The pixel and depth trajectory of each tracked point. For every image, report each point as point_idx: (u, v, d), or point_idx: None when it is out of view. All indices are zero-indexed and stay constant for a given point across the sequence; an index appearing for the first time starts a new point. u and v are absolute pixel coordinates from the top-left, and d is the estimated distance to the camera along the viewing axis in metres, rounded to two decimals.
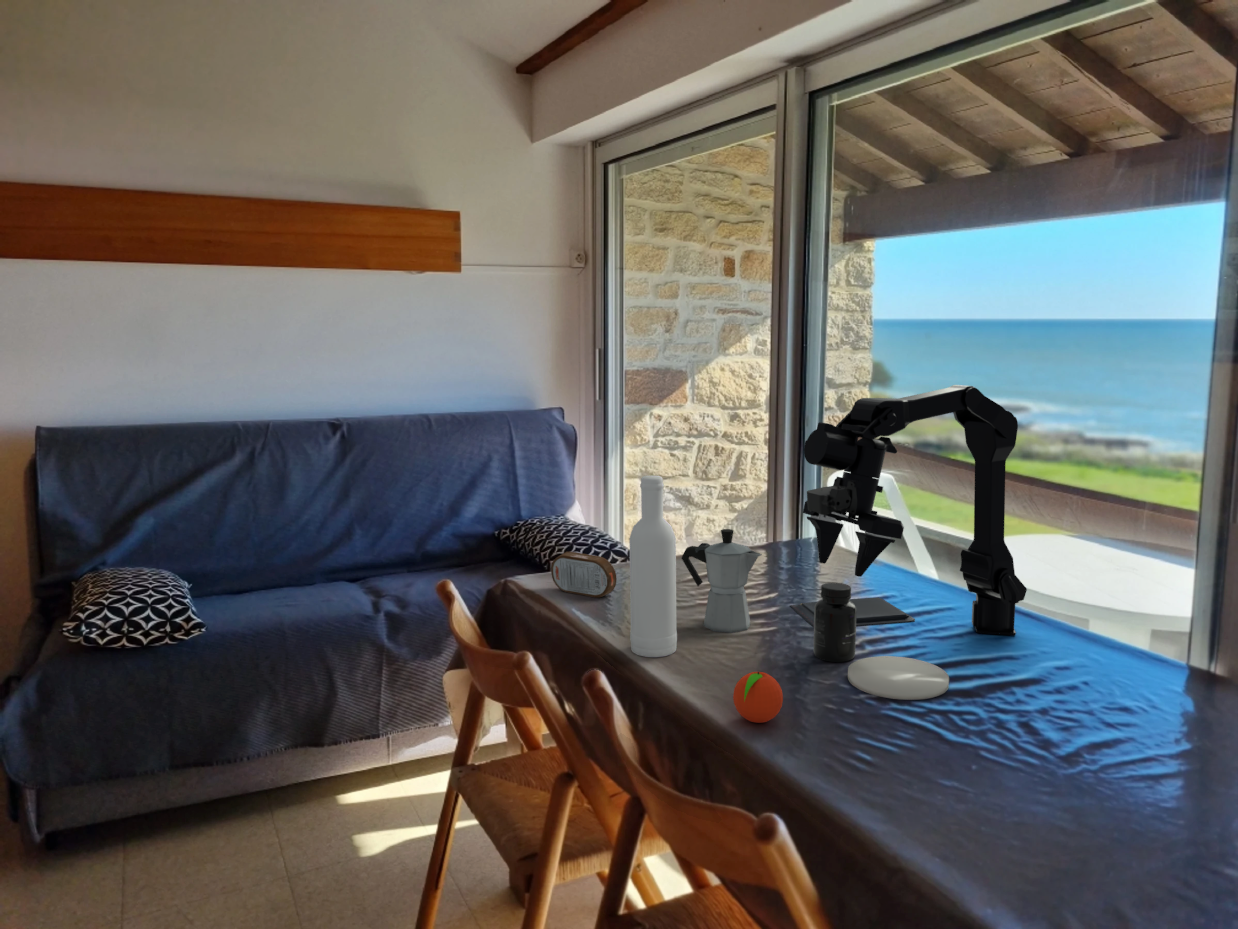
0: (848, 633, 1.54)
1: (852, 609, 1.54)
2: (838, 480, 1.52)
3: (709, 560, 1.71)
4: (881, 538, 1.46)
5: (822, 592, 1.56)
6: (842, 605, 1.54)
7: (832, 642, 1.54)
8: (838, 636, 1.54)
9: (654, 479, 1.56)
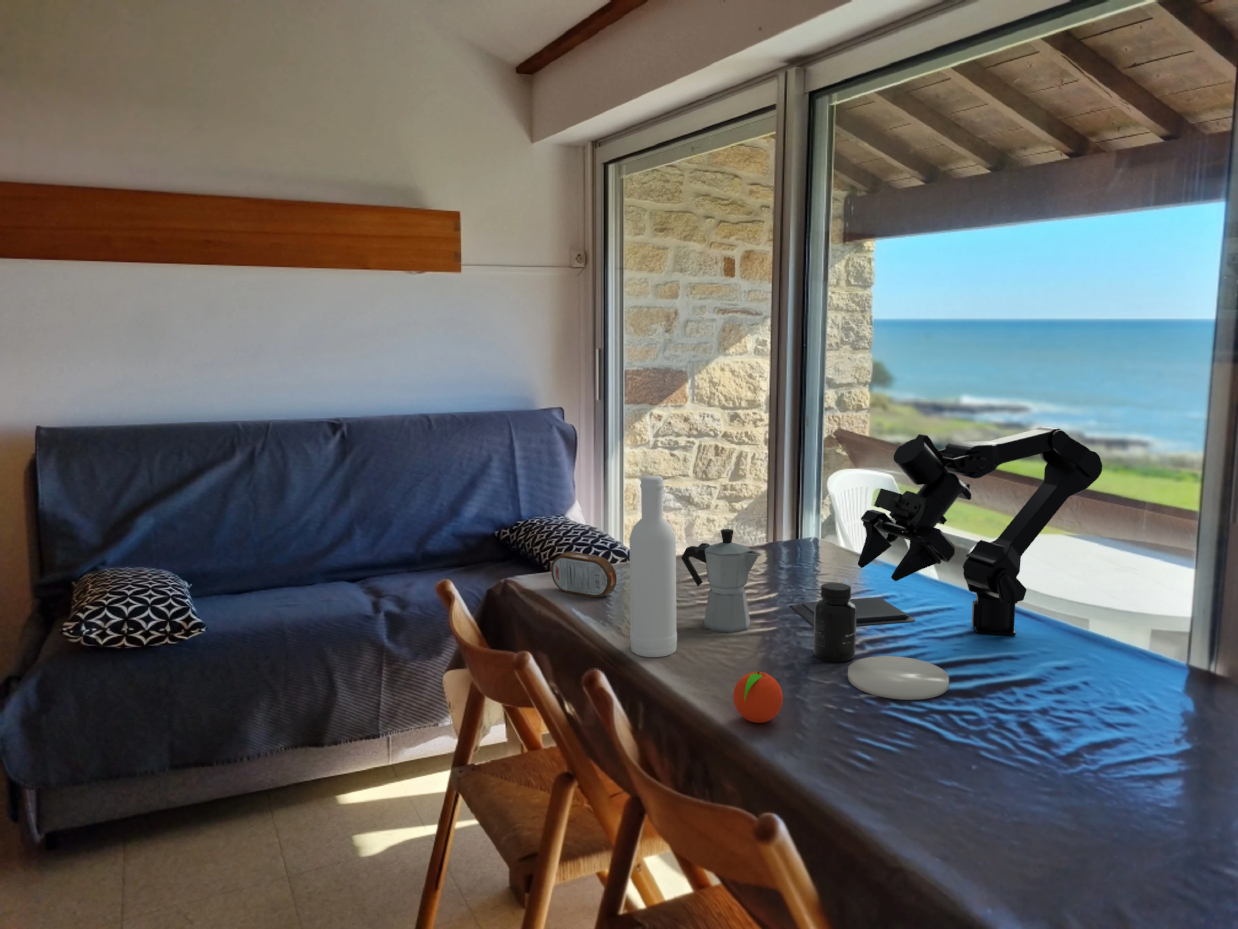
0: (848, 633, 1.54)
1: (852, 609, 1.54)
2: None
3: (708, 560, 1.71)
4: (931, 551, 1.52)
5: (822, 592, 1.56)
6: (842, 605, 1.54)
7: (832, 642, 1.54)
8: (838, 636, 1.54)
9: (654, 479, 1.56)
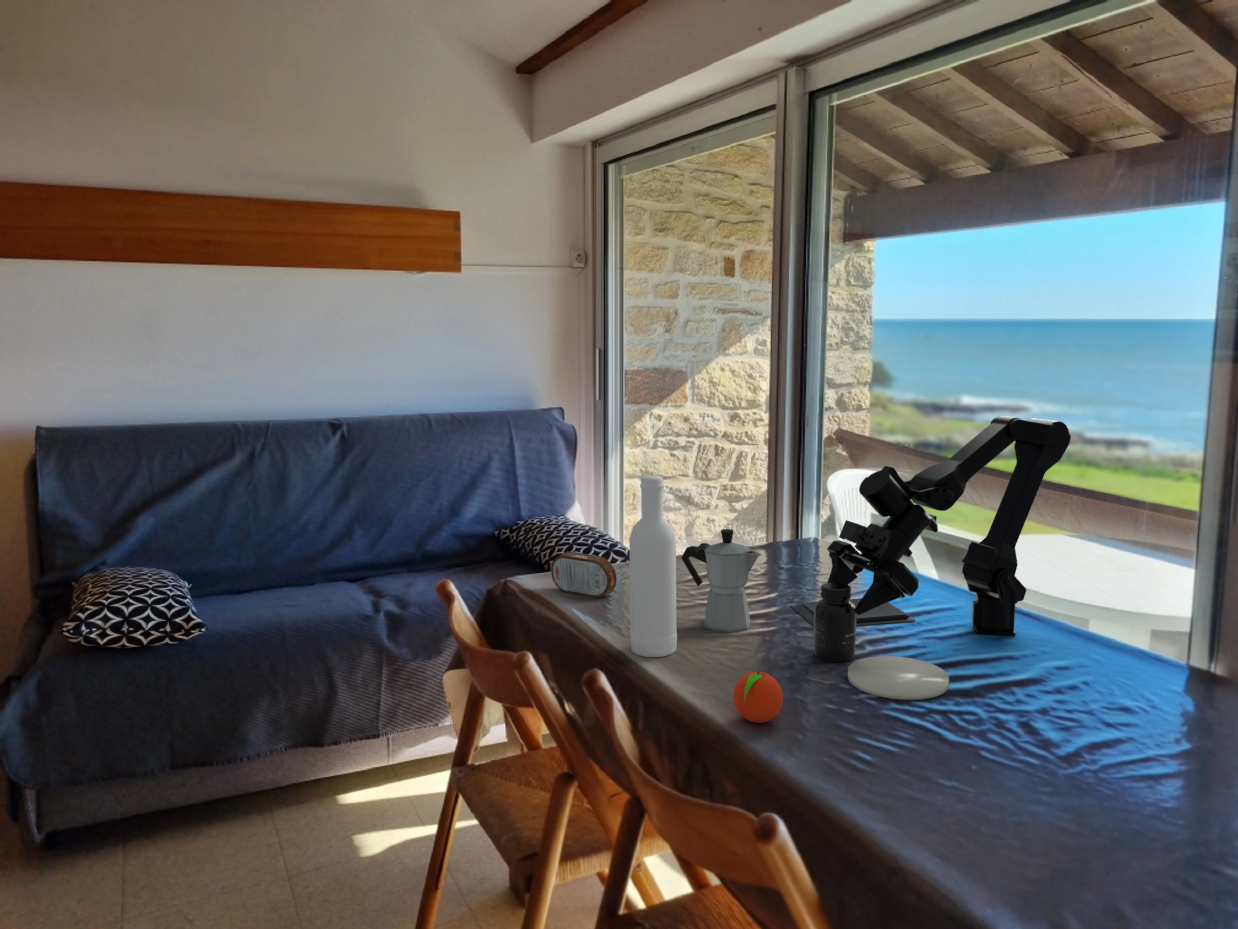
0: (848, 633, 1.54)
1: (852, 609, 1.54)
2: None
3: (709, 560, 1.71)
4: (895, 585, 1.50)
5: (822, 592, 1.56)
6: (842, 605, 1.54)
7: (832, 642, 1.54)
8: (838, 636, 1.54)
9: (654, 479, 1.56)
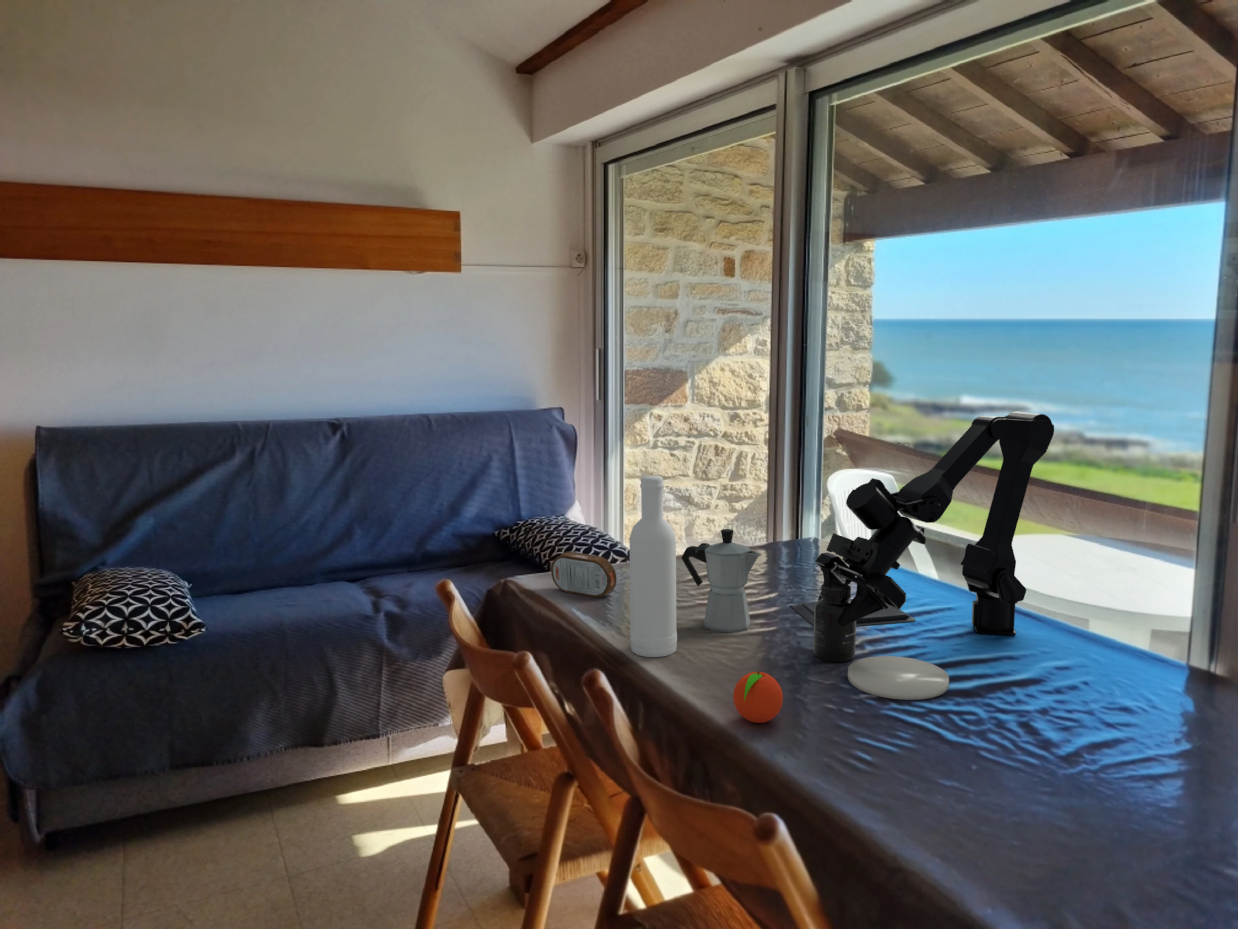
0: (848, 632, 1.54)
1: None
2: None
3: (709, 560, 1.71)
4: (878, 597, 1.51)
5: (822, 592, 1.56)
6: (842, 605, 1.54)
7: (832, 642, 1.54)
8: (838, 635, 1.54)
9: (654, 479, 1.56)
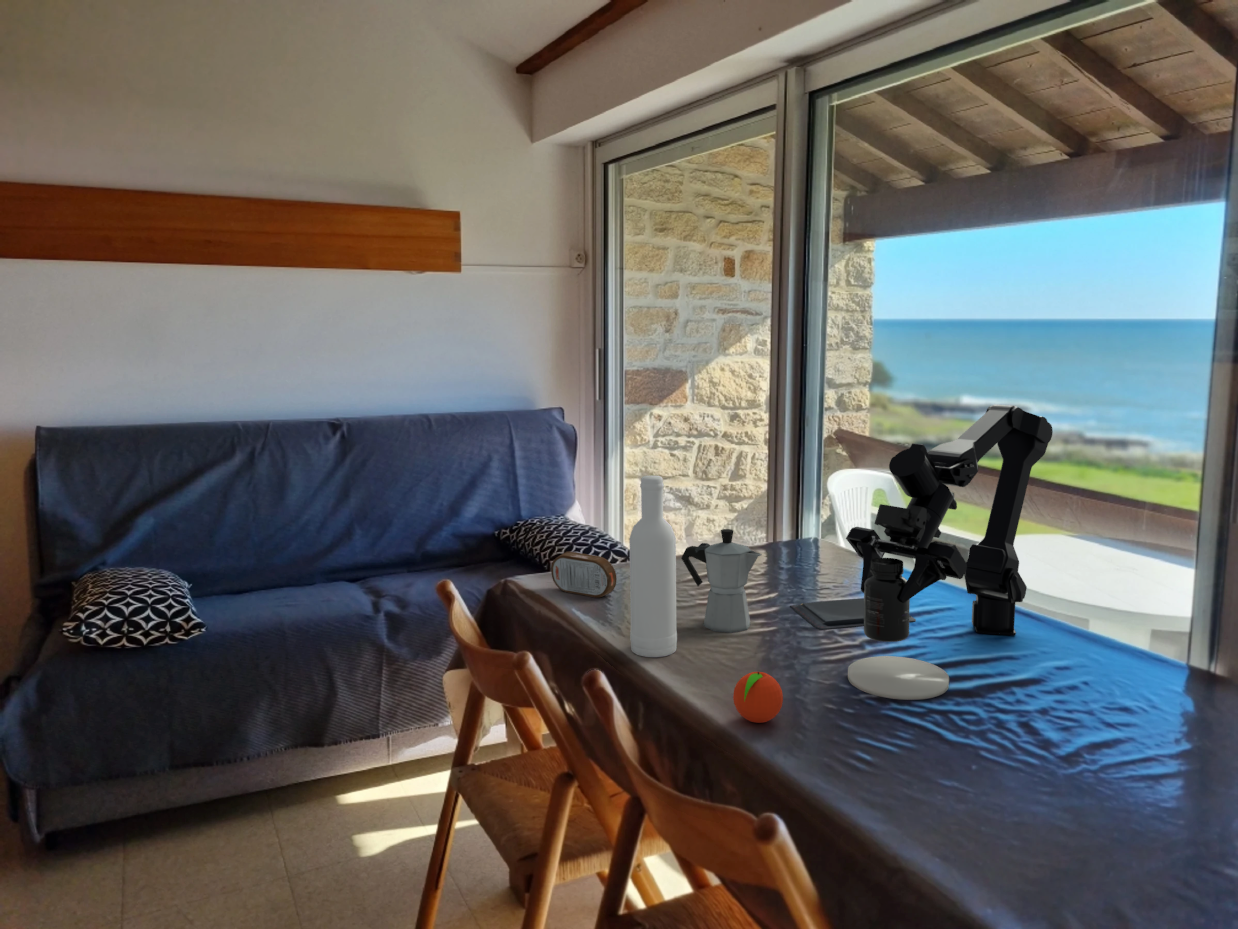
0: (907, 609, 1.44)
1: None
2: None
3: (708, 560, 1.71)
4: (939, 567, 1.42)
5: (875, 569, 1.45)
6: (898, 580, 1.44)
7: (892, 620, 1.43)
8: (898, 613, 1.43)
9: (654, 479, 1.56)
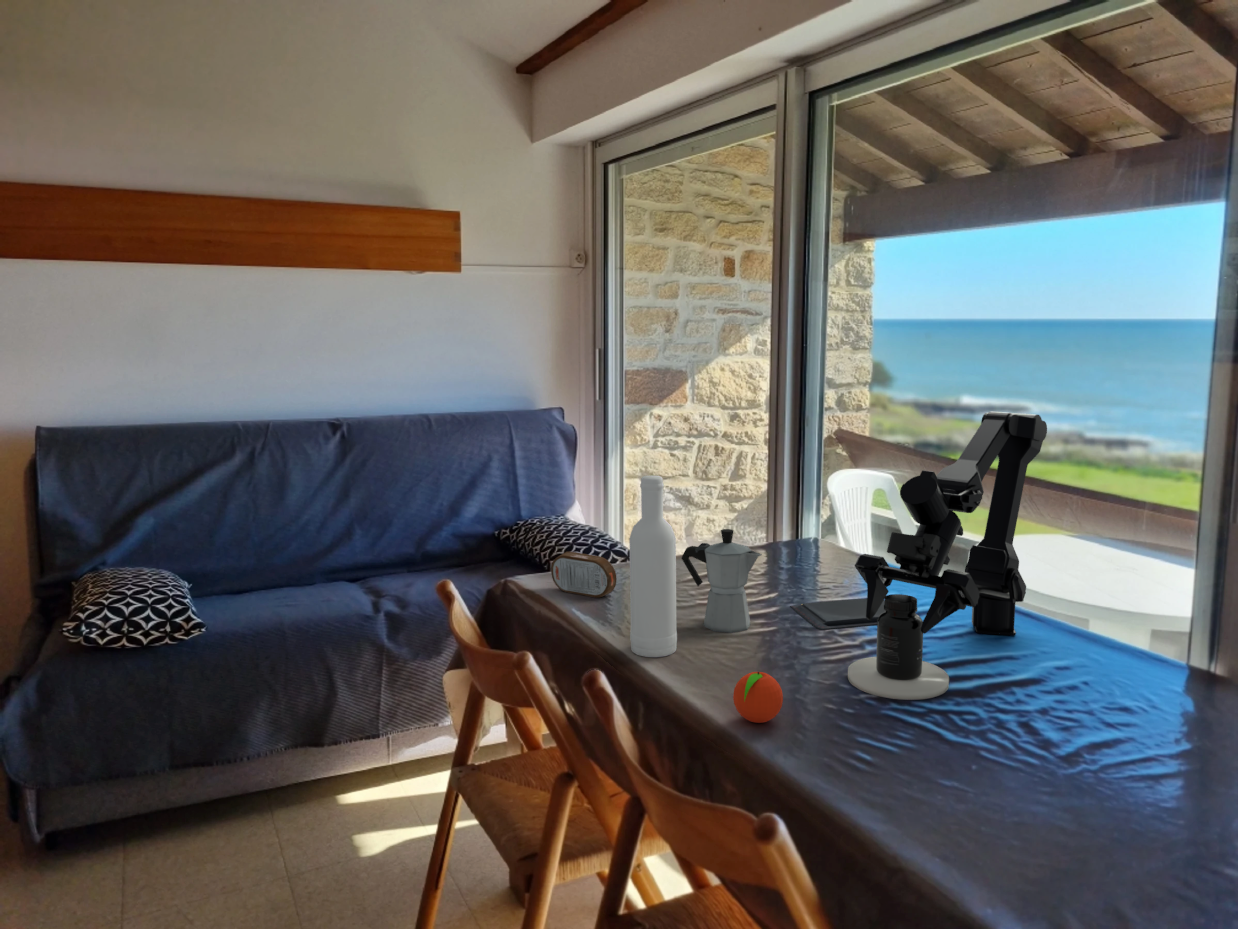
0: (921, 646, 1.43)
1: (922, 621, 1.44)
2: None
3: (709, 560, 1.71)
4: (960, 597, 1.41)
5: (889, 606, 1.44)
6: (913, 618, 1.43)
7: (907, 659, 1.42)
8: (913, 651, 1.42)
9: (654, 479, 1.56)
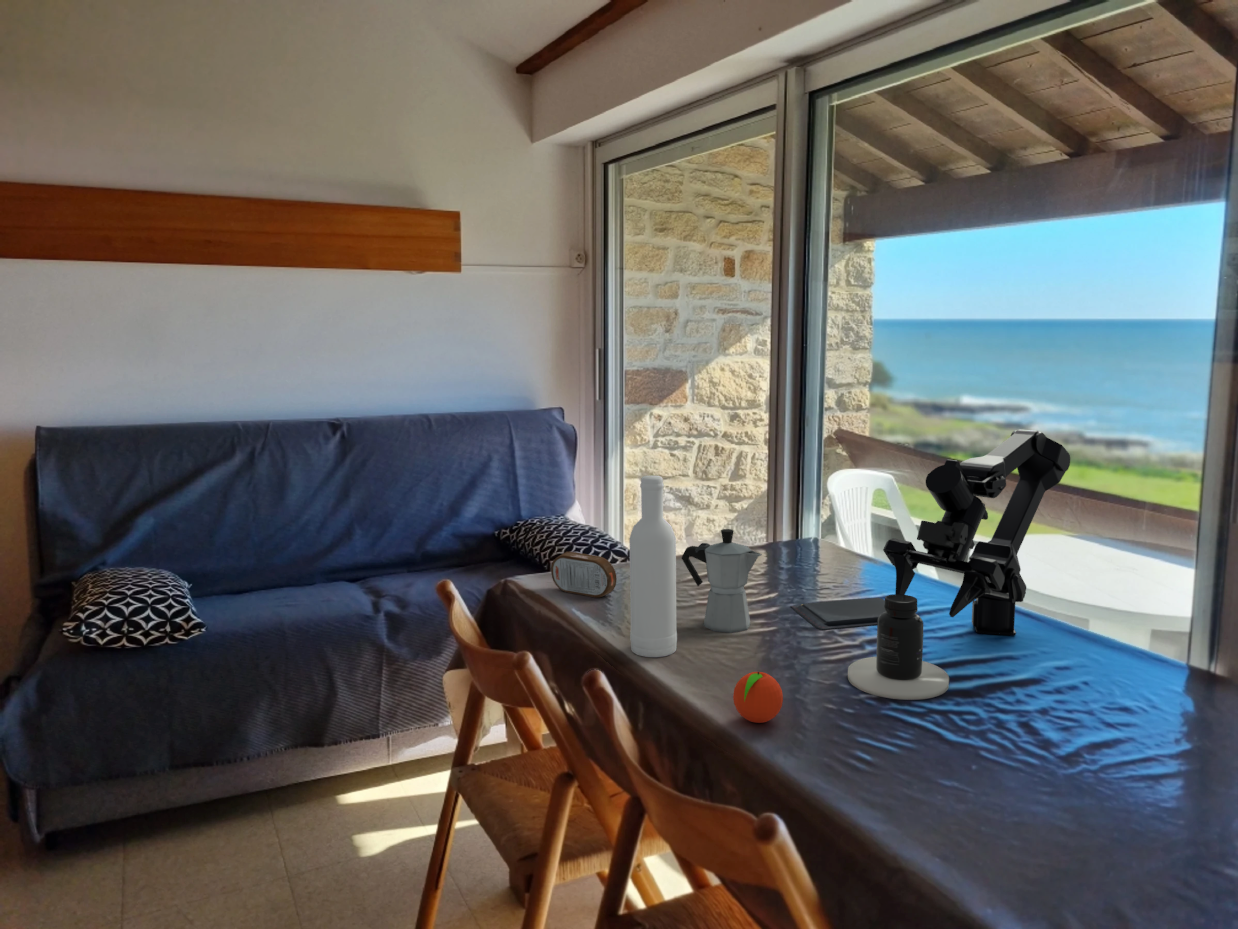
0: (921, 647, 1.43)
1: (922, 621, 1.44)
2: (941, 523, 1.55)
3: (709, 560, 1.71)
4: (987, 582, 1.48)
5: (889, 606, 1.44)
6: (913, 618, 1.43)
7: (907, 659, 1.42)
8: (913, 651, 1.42)
9: (654, 479, 1.56)
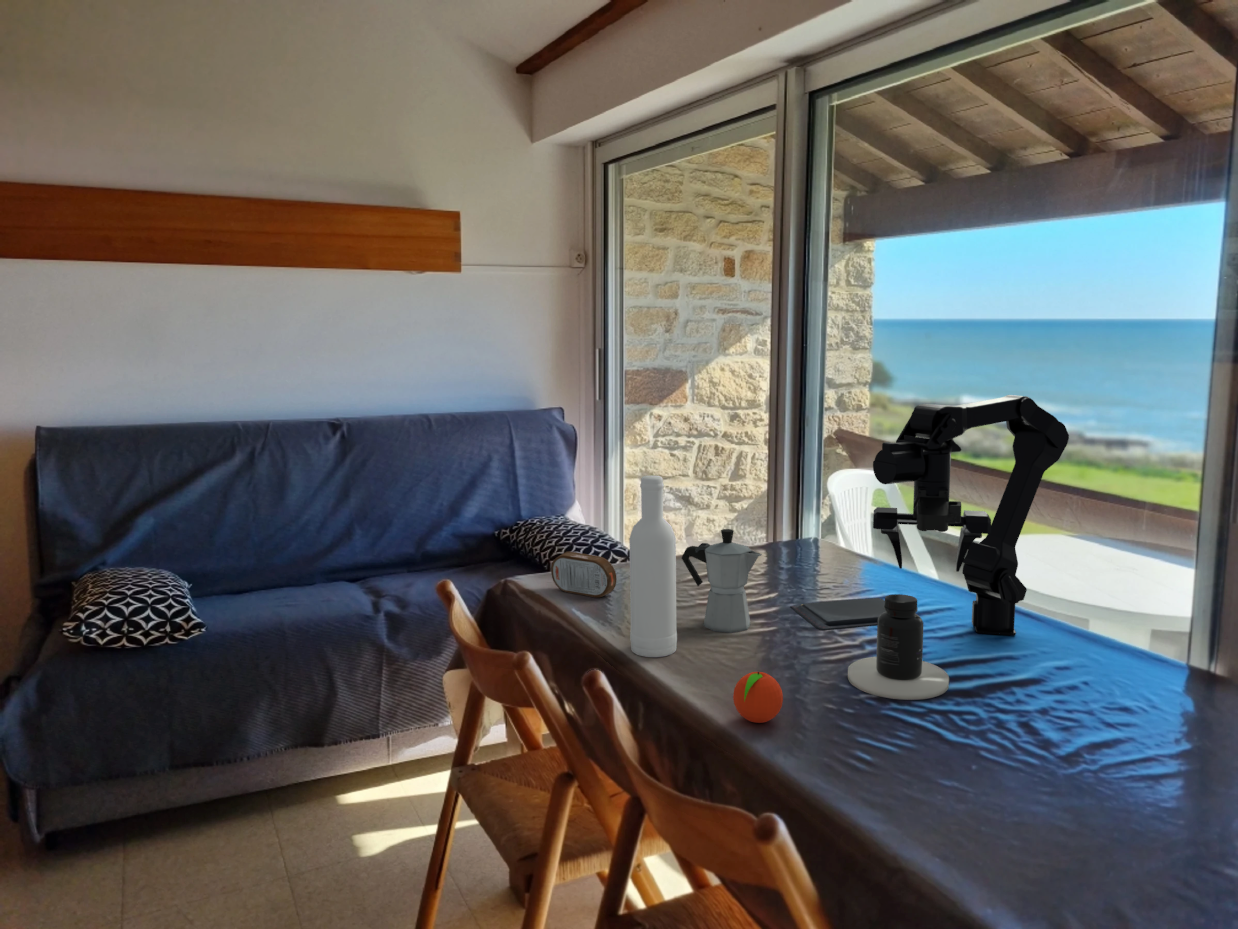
0: (921, 646, 1.43)
1: (922, 621, 1.44)
2: (923, 491, 1.57)
3: (709, 560, 1.71)
4: None
5: (889, 606, 1.44)
6: (913, 618, 1.43)
7: (907, 659, 1.42)
8: (913, 651, 1.42)
9: (654, 479, 1.56)
